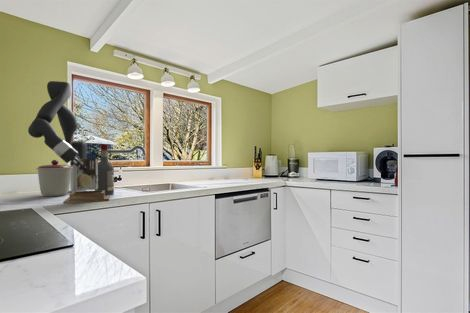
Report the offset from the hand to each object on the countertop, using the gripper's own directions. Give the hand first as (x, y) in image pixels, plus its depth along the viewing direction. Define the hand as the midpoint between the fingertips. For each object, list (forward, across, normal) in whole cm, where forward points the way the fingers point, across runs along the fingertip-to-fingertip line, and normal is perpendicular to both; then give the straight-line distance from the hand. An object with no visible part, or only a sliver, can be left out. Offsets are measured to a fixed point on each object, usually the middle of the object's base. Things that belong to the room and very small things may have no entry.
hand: (91, 174), depth 146 cm
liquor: (+14, +18, +6) cm, 23 cm away
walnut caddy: (+9, 0, +10) cm, 14 cm away
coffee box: (+5, 0, +7) cm, 8 cm away
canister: (-5, +28, +25) cm, 38 cm away
